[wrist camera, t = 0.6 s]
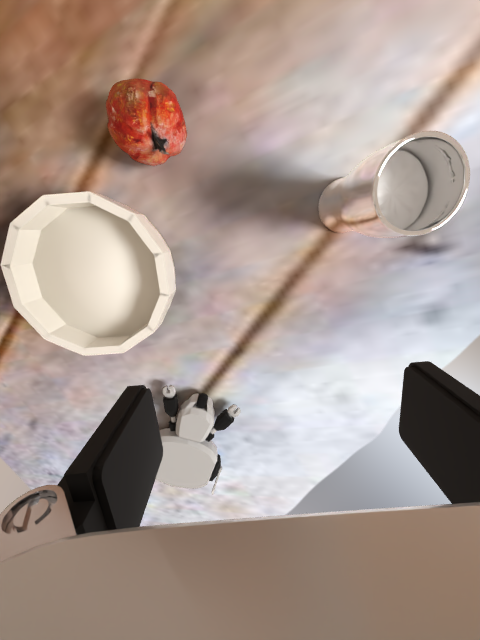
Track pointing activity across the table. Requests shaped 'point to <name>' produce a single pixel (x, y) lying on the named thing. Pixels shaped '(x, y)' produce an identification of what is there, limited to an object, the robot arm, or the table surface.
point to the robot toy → (191, 441)
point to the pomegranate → (146, 120)
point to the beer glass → (400, 188)
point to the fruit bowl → (88, 272)
